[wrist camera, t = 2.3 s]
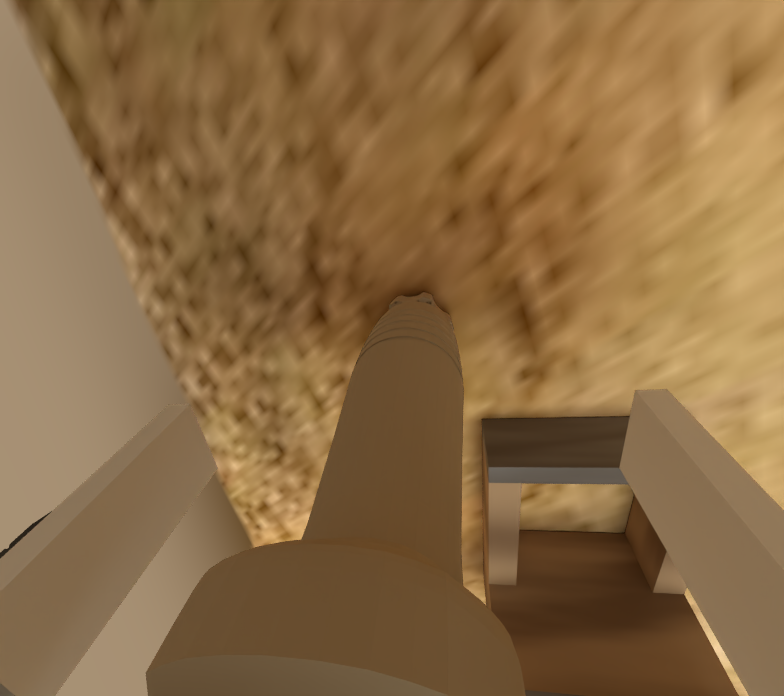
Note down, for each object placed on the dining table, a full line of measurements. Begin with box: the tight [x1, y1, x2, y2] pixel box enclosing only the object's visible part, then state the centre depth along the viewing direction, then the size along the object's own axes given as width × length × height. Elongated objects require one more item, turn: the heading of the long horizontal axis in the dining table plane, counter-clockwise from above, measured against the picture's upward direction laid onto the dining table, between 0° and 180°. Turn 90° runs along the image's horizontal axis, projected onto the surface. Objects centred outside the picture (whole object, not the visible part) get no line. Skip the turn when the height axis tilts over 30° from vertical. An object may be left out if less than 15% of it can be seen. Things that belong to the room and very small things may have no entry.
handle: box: [146, 292, 526, 696], centre depth 12 cm, size 5×6×15 cm
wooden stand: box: [482, 417, 739, 696], centre depth 17 cm, size 14×10×12 cm
